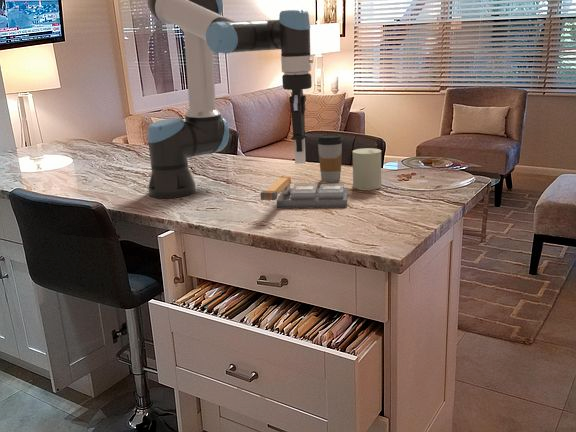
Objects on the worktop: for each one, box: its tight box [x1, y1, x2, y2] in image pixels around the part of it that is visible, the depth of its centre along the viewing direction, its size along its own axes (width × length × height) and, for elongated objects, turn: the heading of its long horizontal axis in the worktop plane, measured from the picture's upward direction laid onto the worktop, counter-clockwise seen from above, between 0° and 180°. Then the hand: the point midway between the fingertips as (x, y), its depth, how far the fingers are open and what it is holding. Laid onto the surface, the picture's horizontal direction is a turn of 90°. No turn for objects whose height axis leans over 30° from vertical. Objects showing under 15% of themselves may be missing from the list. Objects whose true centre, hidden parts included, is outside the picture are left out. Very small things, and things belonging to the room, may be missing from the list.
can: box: [352, 147, 383, 191], centre depth 187 cm, size 9×9×12 cm
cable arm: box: [260, 175, 292, 201], centre depth 167 cm, size 20×4×2 cm, turn 165°
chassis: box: [276, 183, 349, 209], centre depth 175 cm, size 20×14×5 cm
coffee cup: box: [317, 133, 343, 183], centre depth 197 cm, size 8×8×15 cm
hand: (300, 162), depth 159 cm, fingers closed
